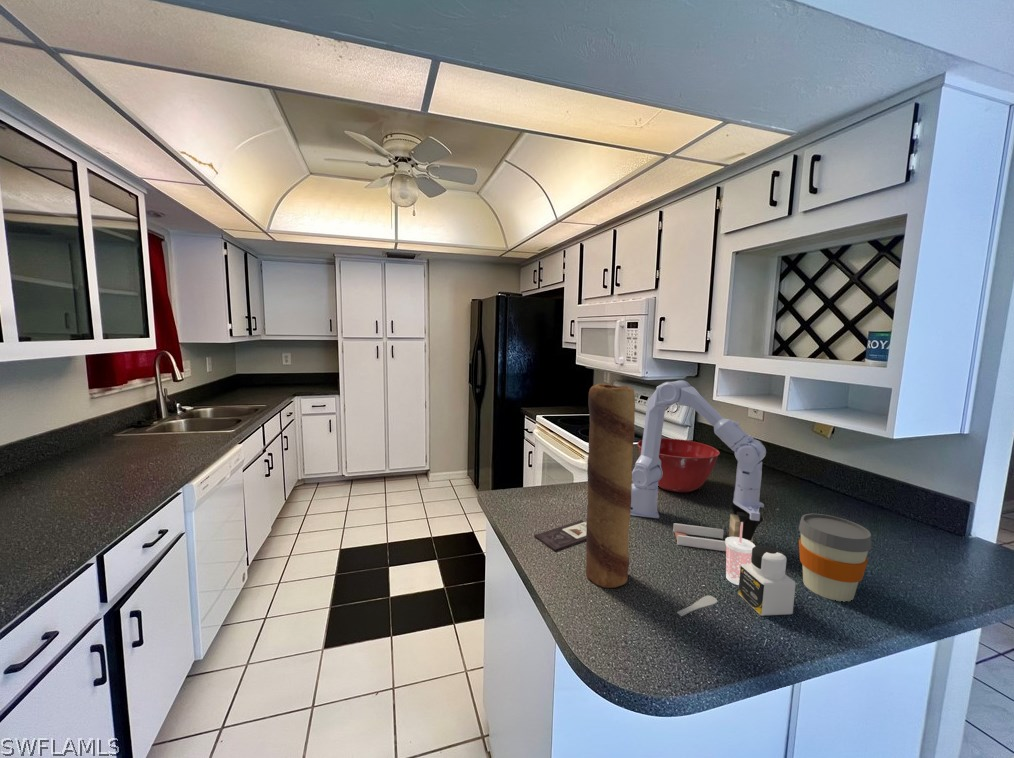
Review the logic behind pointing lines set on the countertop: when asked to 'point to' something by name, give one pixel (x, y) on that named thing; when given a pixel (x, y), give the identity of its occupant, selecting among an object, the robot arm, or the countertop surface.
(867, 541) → the reusable coffee cup
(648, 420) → the robot arm
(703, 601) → the grey flat paddle piece
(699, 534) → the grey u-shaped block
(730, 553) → the beverage cup
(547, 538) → the chocolate bar
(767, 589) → the medicine bottle
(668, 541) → the countertop surface
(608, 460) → the wafer roll
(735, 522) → the maple block
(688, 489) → the mixing bowl
